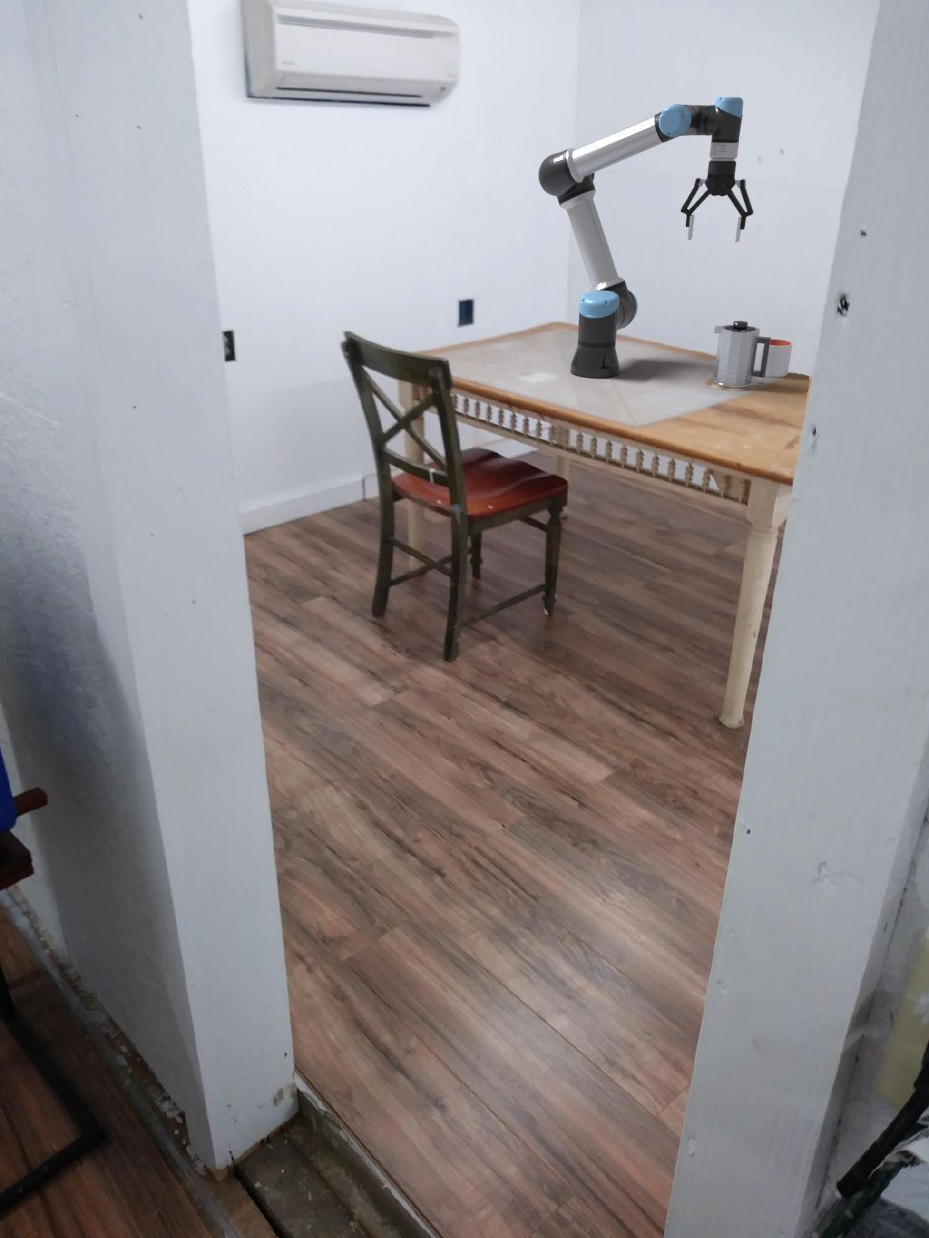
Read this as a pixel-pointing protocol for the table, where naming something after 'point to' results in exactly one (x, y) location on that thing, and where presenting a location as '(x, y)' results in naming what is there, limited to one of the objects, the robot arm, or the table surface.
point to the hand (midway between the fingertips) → (713, 240)
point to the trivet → (711, 384)
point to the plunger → (740, 325)
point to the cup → (775, 358)
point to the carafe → (738, 356)
